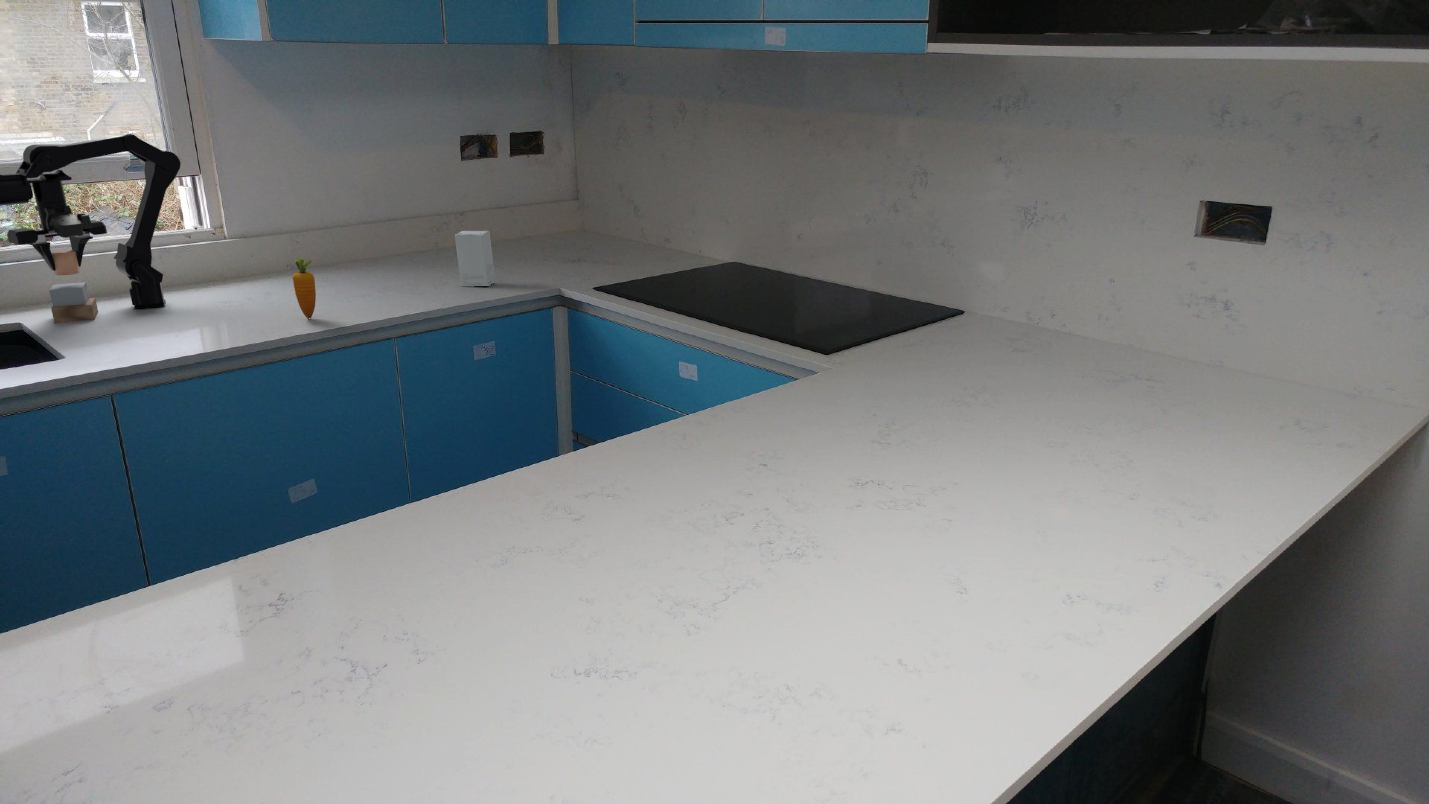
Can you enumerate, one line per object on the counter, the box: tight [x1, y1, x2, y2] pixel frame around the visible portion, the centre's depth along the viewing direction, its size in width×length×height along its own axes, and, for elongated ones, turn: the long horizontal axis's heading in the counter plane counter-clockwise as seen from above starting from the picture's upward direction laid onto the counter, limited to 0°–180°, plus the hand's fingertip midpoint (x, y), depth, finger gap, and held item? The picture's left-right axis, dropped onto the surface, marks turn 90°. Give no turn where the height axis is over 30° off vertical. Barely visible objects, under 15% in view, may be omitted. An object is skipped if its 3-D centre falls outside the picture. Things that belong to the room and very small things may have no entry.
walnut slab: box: [50, 297, 99, 324], centre depth 225 cm, size 8×8×4 cm
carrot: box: [292, 257, 317, 320], centre depth 224 cm, size 5×5×15 cm
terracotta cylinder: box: [51, 249, 81, 276], centre depth 221 cm, size 5×5×5 cm
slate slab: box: [48, 281, 90, 307], centre depth 224 cm, size 6×6×4 cm
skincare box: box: [454, 230, 496, 287], centre depth 260 cm, size 8×6×15 cm
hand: (66, 268), depth 222 cm, fingers closed on terracotta cylinder, 5 cm apart
